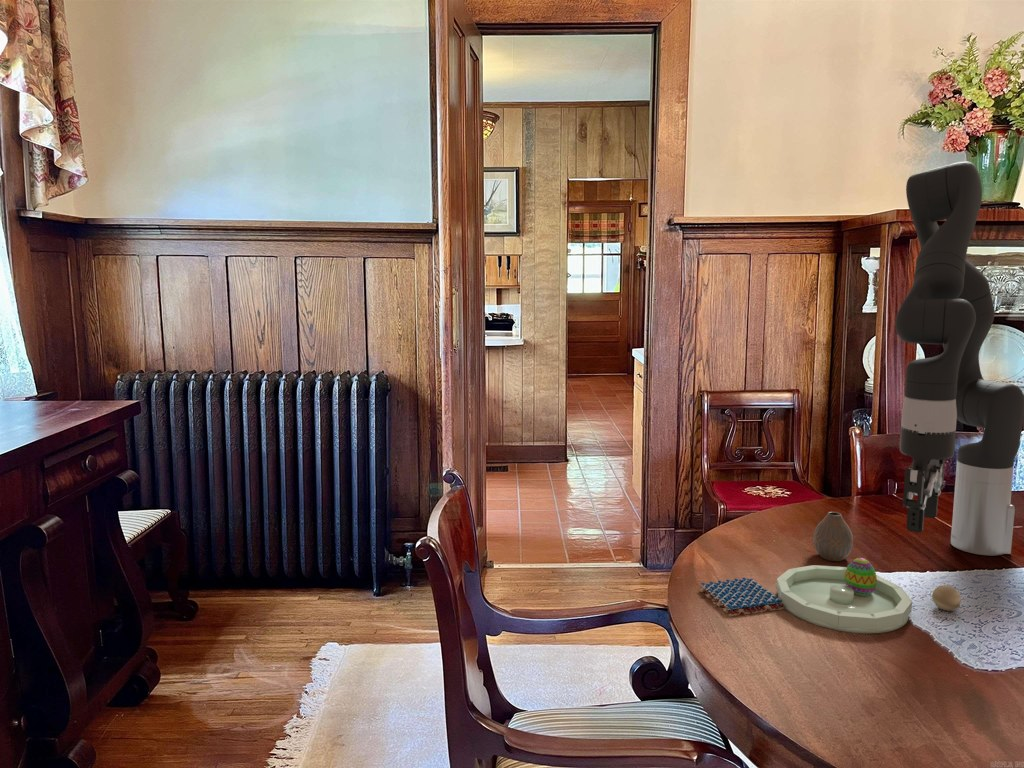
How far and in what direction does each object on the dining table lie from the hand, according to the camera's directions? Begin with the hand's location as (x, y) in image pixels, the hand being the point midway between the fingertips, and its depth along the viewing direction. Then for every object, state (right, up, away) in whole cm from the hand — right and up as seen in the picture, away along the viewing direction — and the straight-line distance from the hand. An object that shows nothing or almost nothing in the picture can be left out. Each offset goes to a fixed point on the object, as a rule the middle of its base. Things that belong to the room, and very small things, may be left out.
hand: (921, 524), depth 116 cm
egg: (-7, -13, +6) cm, 16 cm away
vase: (-4, -11, +23) cm, 25 cm away
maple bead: (+4, -14, +1) cm, 15 cm away
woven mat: (-28, -15, +5) cm, 32 cm away
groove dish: (-12, -14, +3) cm, 18 cm away
